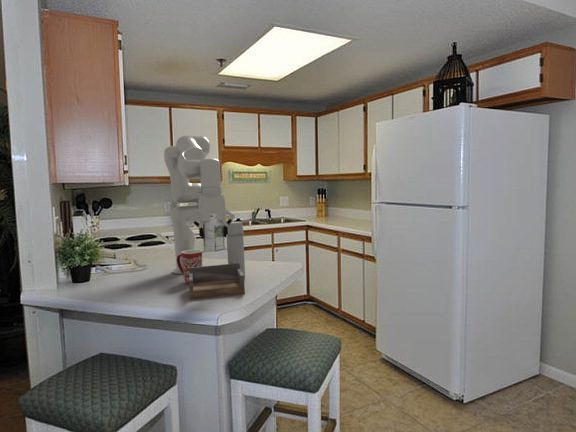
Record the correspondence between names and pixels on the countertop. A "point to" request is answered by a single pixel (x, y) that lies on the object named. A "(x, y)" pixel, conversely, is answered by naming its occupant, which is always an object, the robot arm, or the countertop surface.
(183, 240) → the robot arm
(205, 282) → the shelf
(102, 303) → the countertop surface
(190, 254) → the mug
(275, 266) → the countertop surface
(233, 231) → the water bottle
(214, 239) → the syrup box
